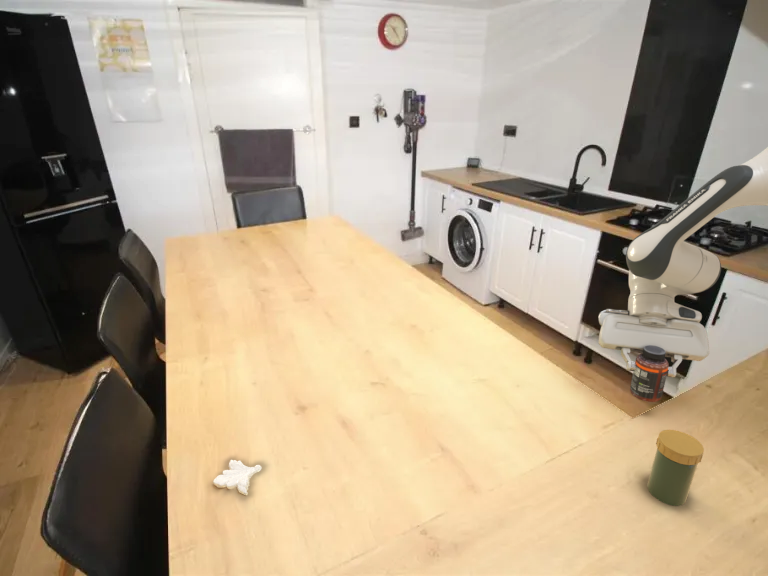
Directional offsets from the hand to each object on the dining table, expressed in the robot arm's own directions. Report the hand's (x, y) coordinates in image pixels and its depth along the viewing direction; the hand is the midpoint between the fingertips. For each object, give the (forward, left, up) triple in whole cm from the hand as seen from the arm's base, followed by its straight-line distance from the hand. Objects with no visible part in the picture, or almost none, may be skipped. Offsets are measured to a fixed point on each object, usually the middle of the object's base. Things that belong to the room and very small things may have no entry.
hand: (650, 373), depth 87 cm
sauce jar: (-9, +22, -10) cm, 25 cm away
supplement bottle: (0, -1, -6) cm, 6 cm away
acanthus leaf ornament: (+49, +70, -10) cm, 86 cm away
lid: (-9, +22, 0) cm, 23 cm away
